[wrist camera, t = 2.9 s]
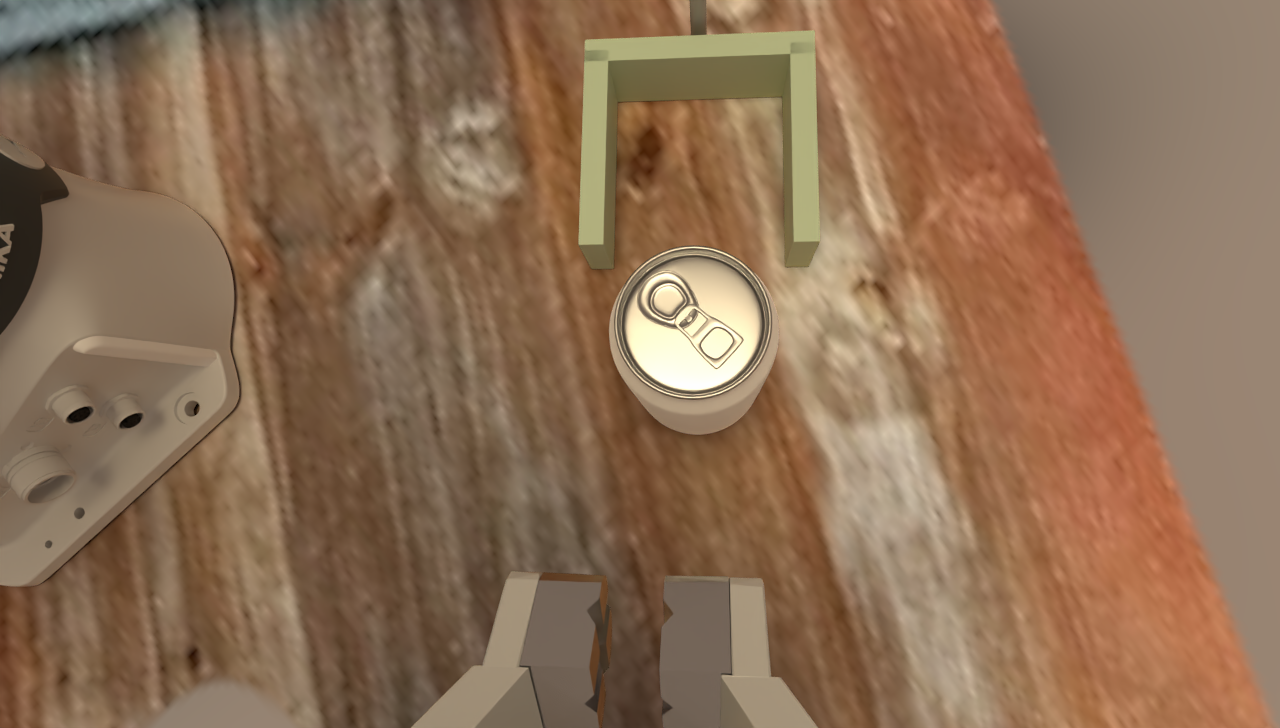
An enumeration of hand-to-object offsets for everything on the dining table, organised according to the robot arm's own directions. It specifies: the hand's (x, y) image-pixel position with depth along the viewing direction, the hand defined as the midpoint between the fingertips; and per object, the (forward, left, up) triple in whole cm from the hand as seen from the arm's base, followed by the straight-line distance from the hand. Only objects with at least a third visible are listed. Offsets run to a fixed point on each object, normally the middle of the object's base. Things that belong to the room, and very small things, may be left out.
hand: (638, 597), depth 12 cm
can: (+6, +4, -26) cm, 27 cm away
